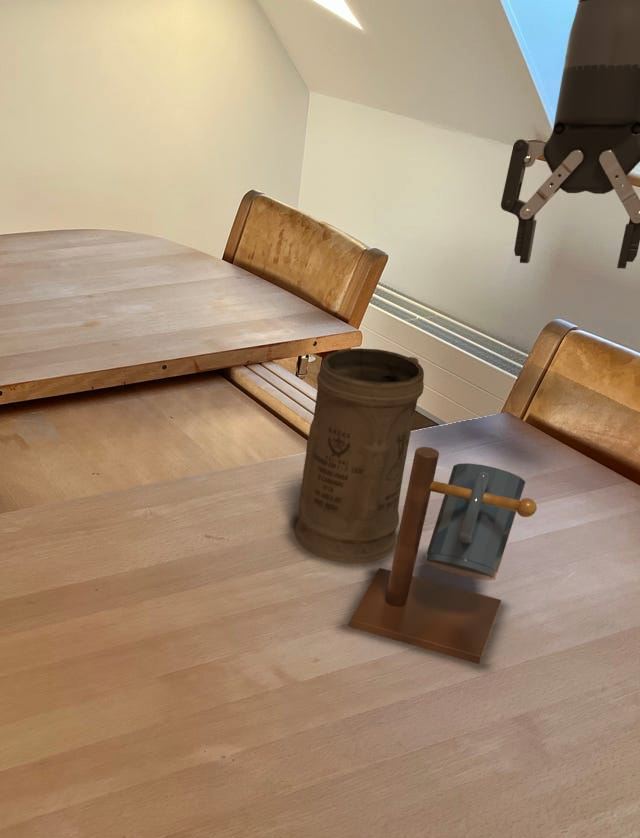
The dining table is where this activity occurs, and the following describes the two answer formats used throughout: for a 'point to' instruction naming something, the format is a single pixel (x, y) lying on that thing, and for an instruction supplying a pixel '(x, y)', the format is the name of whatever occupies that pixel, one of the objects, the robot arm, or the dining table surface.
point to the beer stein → (357, 454)
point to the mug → (474, 523)
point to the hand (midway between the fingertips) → (572, 265)
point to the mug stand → (424, 600)
